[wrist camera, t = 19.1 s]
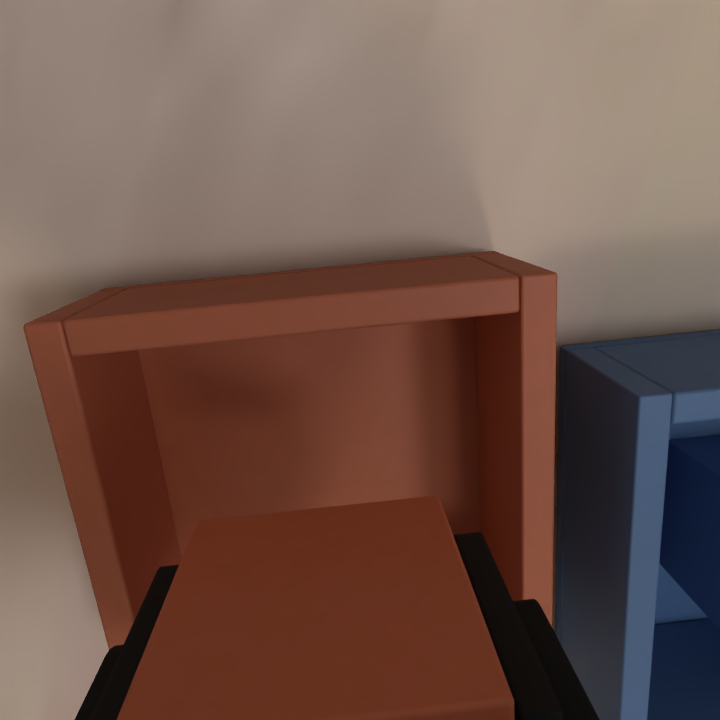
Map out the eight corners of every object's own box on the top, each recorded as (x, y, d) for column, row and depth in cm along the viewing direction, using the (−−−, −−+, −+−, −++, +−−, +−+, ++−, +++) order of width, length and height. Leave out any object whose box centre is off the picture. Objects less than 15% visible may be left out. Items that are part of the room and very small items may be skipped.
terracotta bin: (175, 615, 19) (131, 740, 15) (103, 288, 16) (19, 324, 11) (501, 578, 19) (552, 688, 15) (495, 250, 16) (558, 271, 12)
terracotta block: (232, 710, 12) (175, 1015, 7) (195, 518, 10) (100, 750, 6) (449, 685, 12) (519, 969, 7) (439, 492, 10) (516, 701, 6)
